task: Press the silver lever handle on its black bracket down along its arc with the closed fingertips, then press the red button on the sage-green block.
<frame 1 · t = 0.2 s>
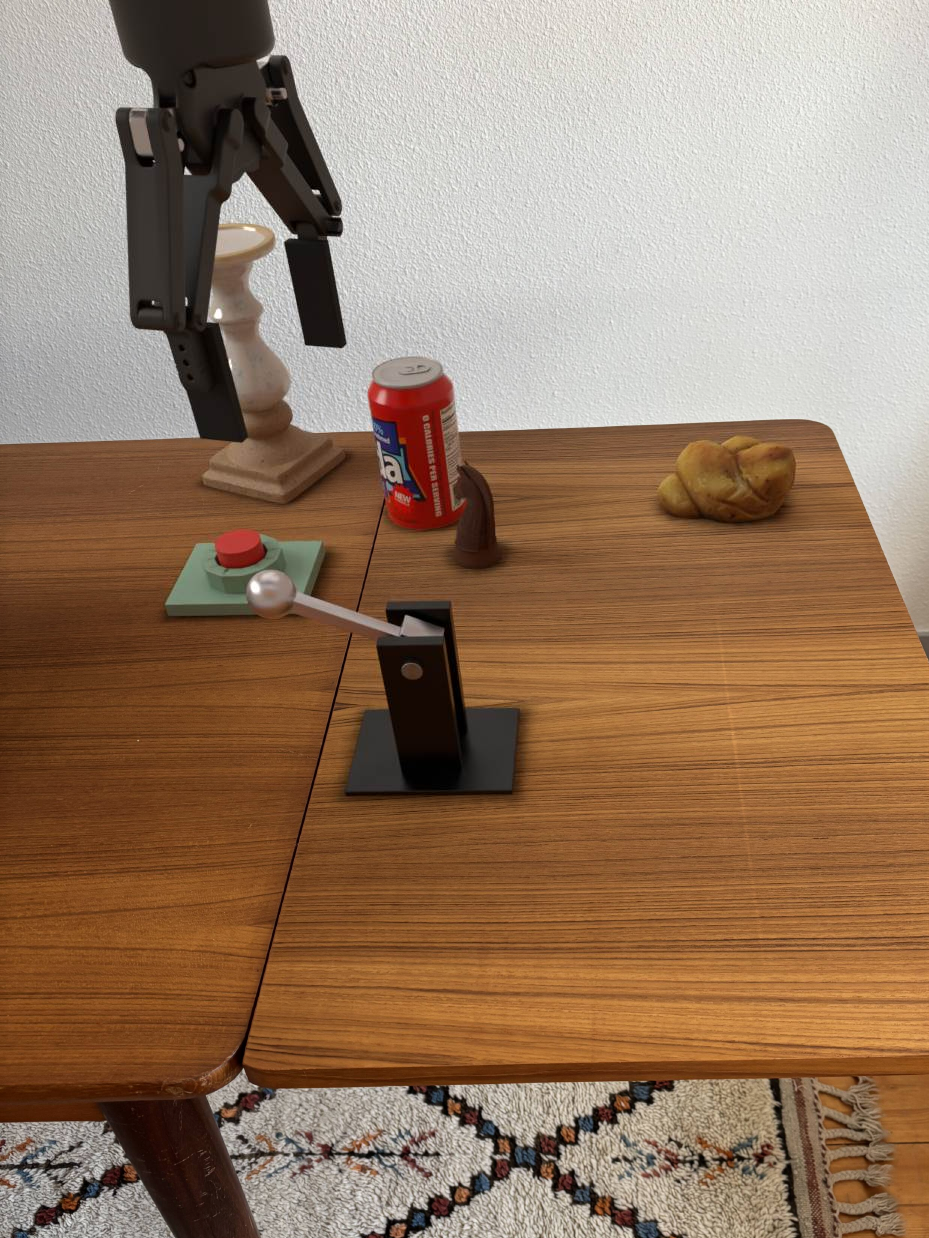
hand: (279, 388, 65), 26 cm above the table, tool pointing down, fingers open, 13 cm apart
candle holder: (277, 479, 112), on the table
lever stand: (437, 761, 79), on the table
chess piece: (480, 566, 98), on the table
button block: (252, 591, 96), on the table
button: (240, 549, 93), point 4 cm above the table, slide at 0.1 cm
silver lever handle: (344, 619, 70), point 13 cm above the table, hinge at 25.0°
bread roll: (721, 509, 104), on the table
soda can: (428, 518, 105), on the table
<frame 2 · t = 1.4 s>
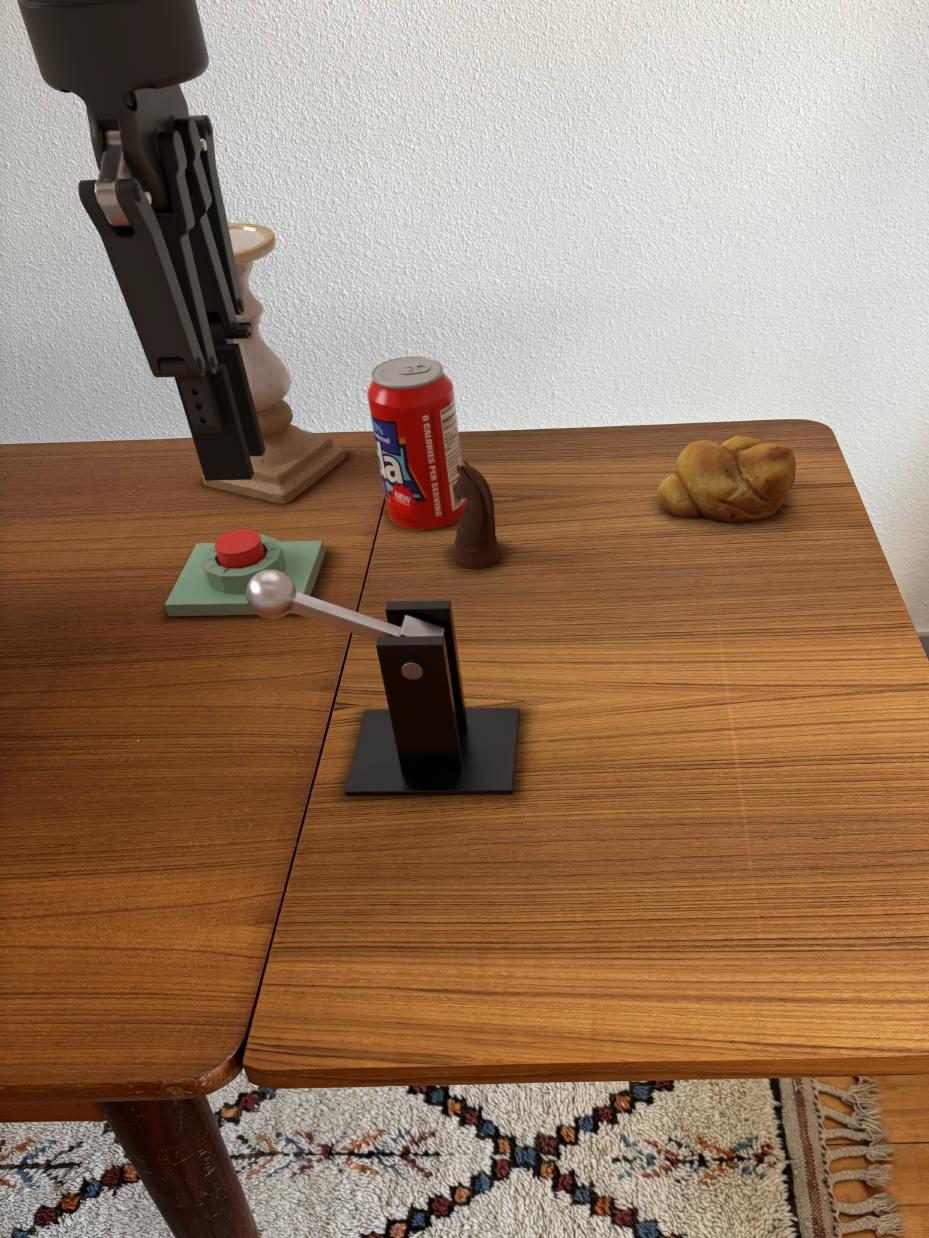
hand: (235, 464, 62), 24 cm above the table, tool pointing down, fingers open, 2 cm apart
nothing on the table moved.
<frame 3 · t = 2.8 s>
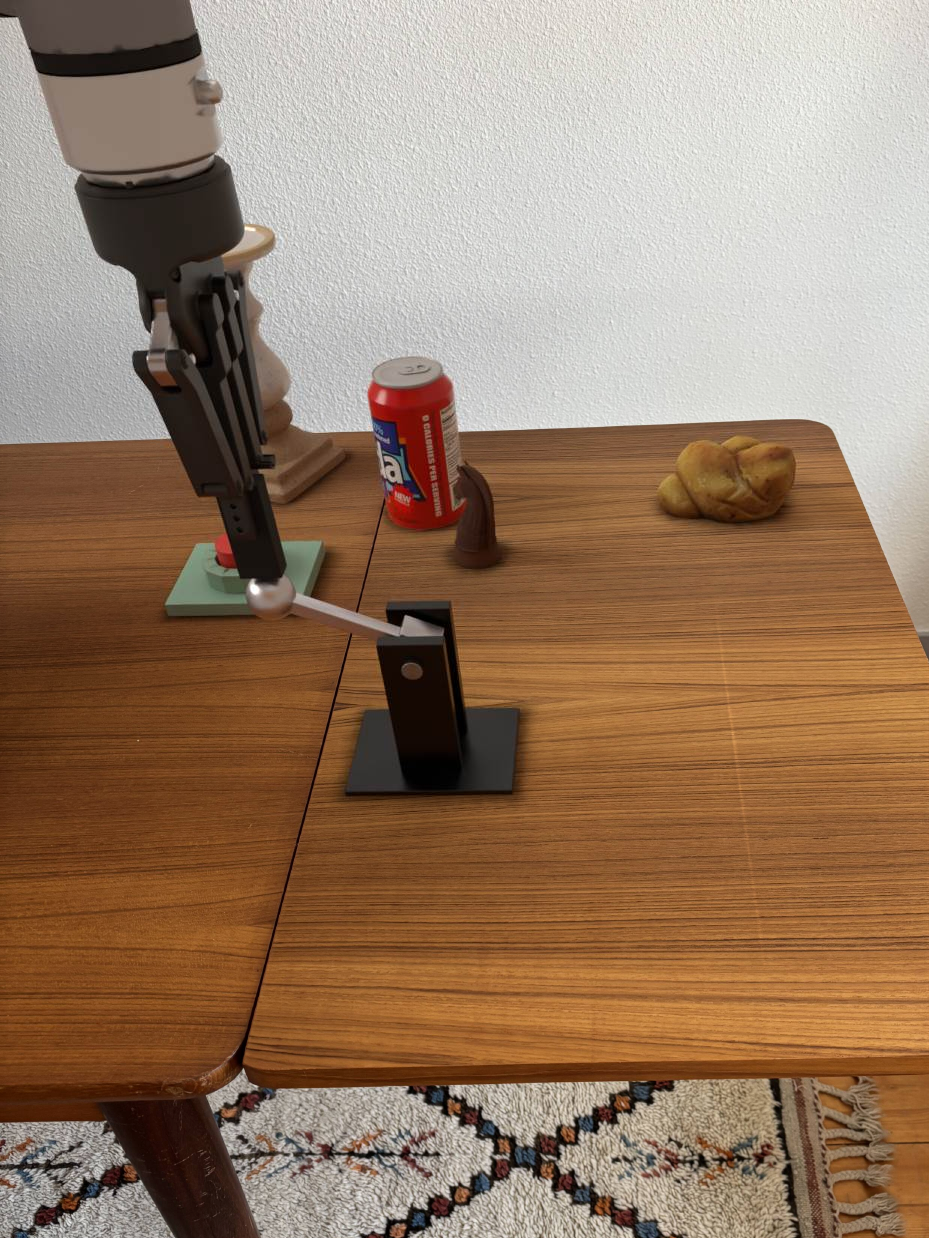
hand: (263, 571, 67), 17 cm above the table, tool pointing down, fingers closed
silver lever handle: (344, 619, 70), point 13 cm above the table, hinge at 24.3°, touching gripper
everything else where it was.
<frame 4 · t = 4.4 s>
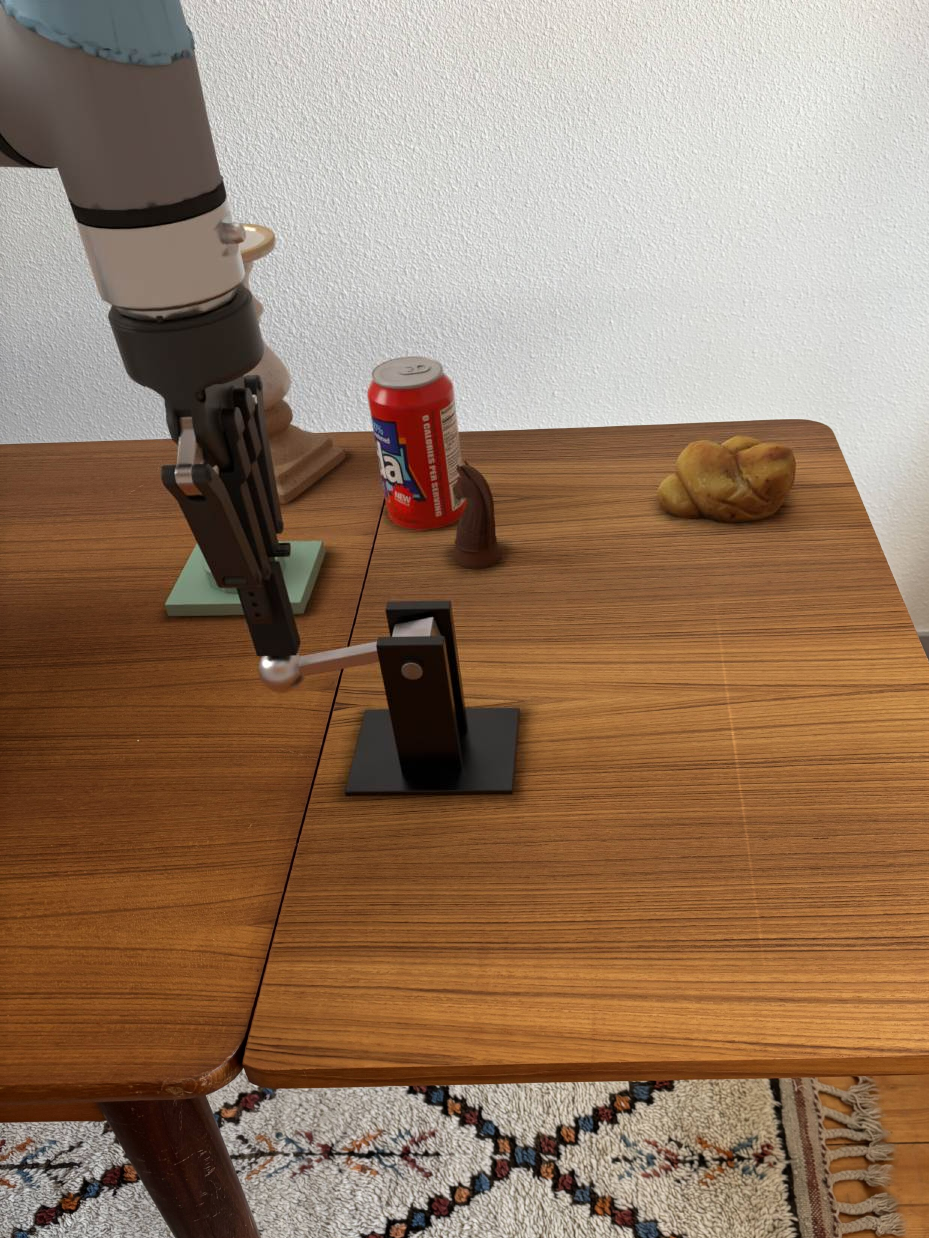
hand: (279, 648, 72), 11 cm above the table, tool pointing down, fingers closed
silver lever handle: (347, 657, 72), point 10 cm above the table, hinge at -12.0°, touching gripper
everything else where it was.
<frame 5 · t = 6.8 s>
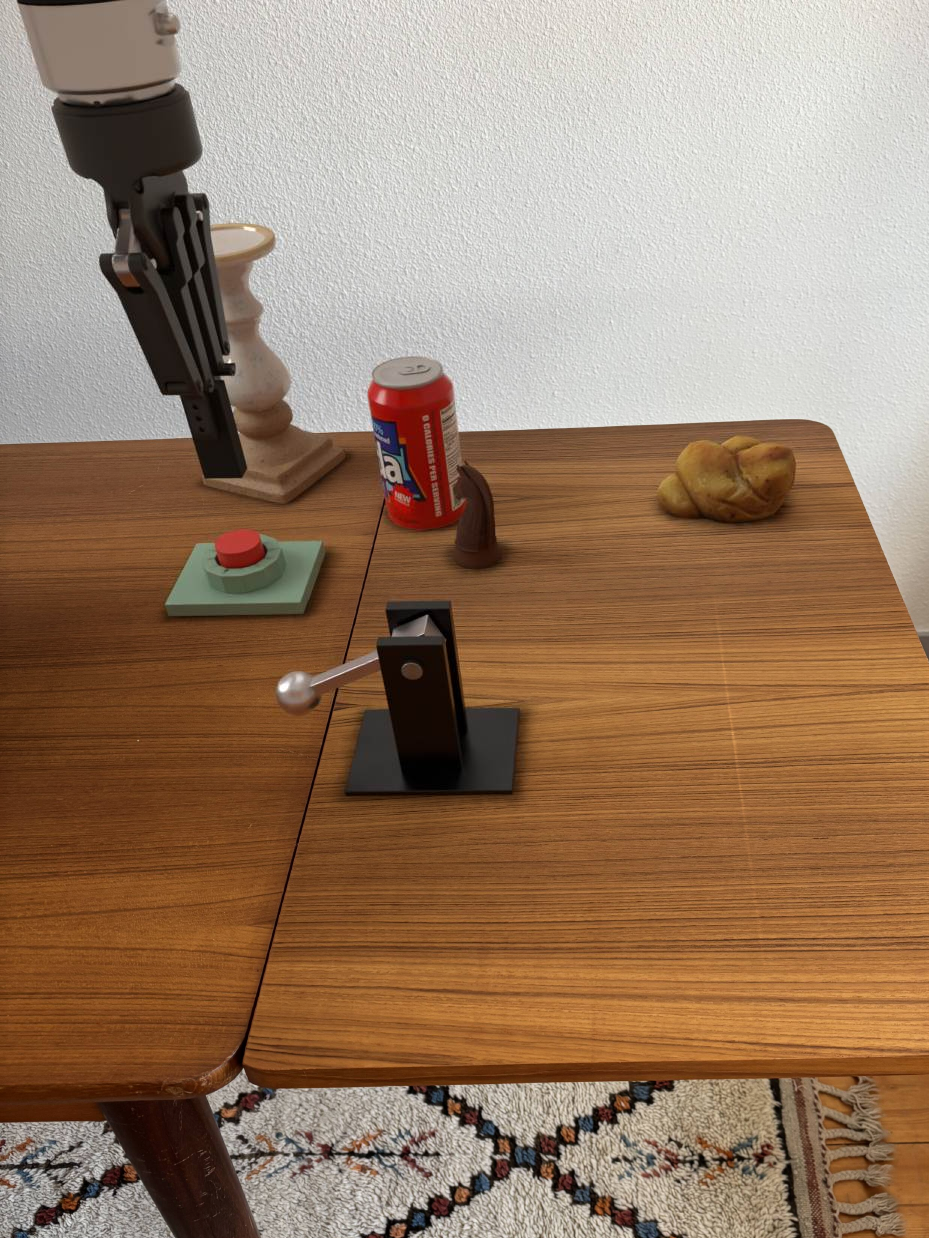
hand: (226, 472, 75), 18 cm above the table, tool pointing down, fingers closed
silver lever handle: (355, 669, 73), point 9 cm above the table, hinge at -24.9°
everything else where it was.
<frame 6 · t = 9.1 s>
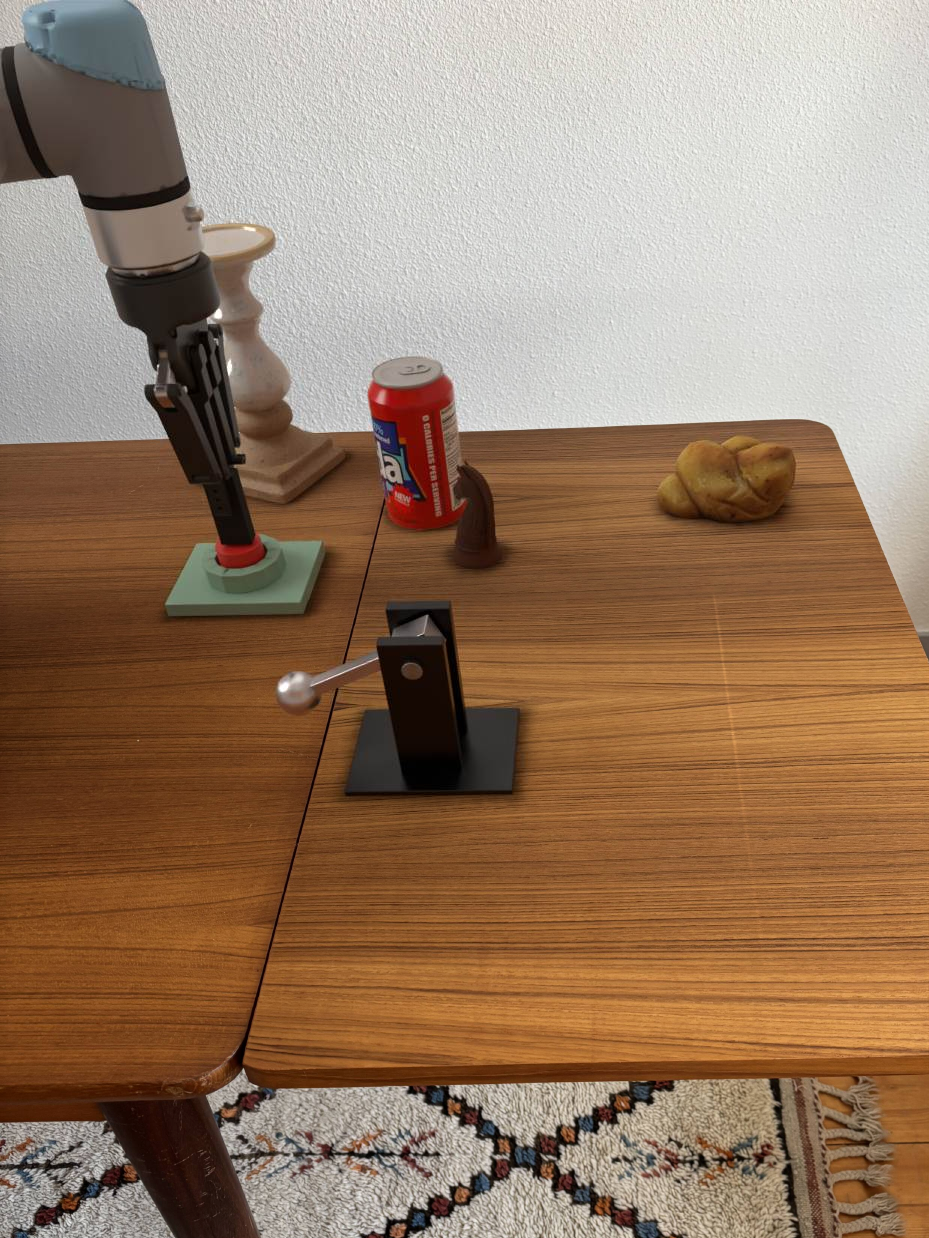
hand: (238, 539, 92), 5 cm above the table, tool pointing down, fingers closed
button: (240, 550, 93), point 4 cm above the table, slide at 0.0 cm, touching gripper
everything else where it was.
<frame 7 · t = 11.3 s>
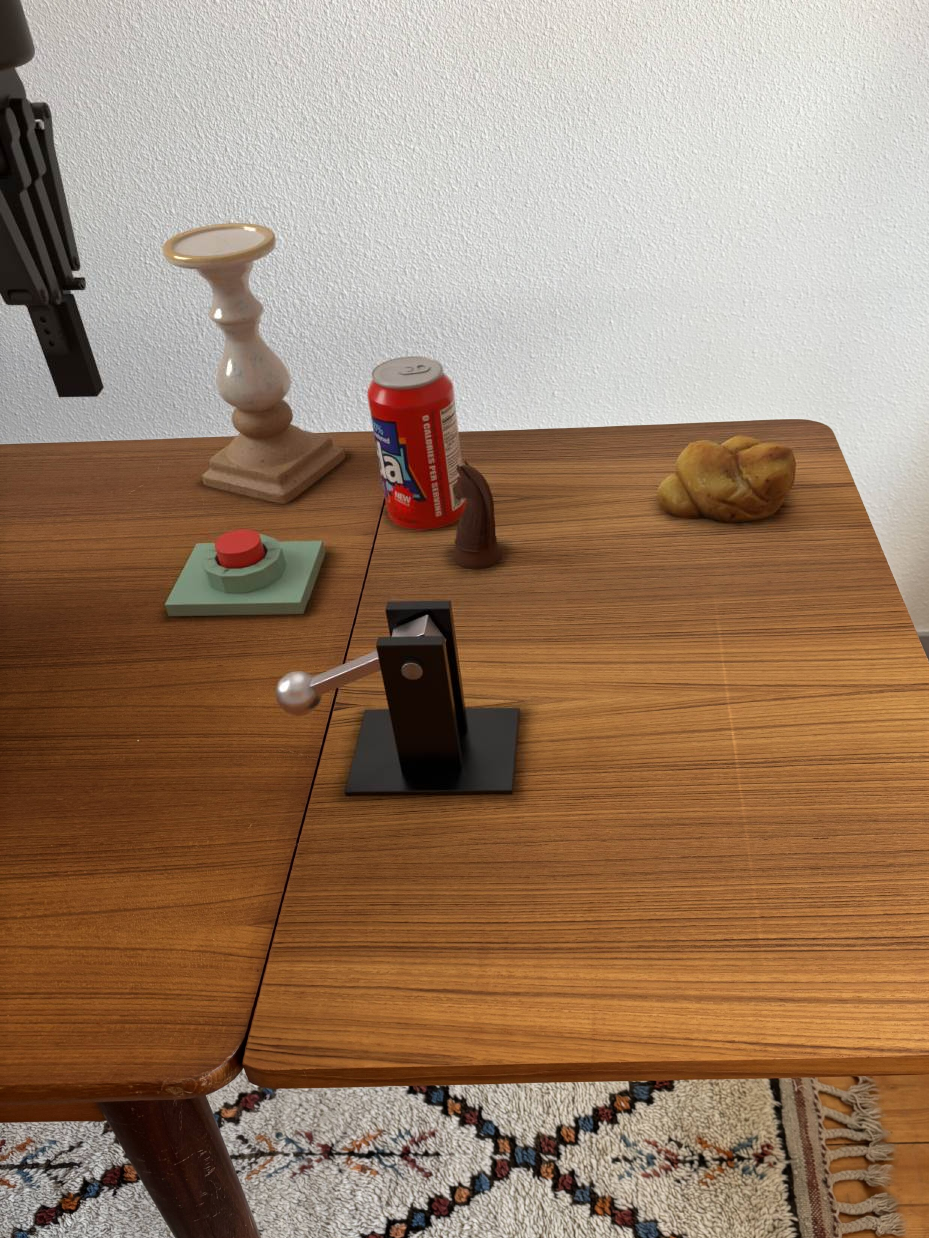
hand: (81, 391, 74), 23 cm above the table, tool pointing down, fingers closed
button: (240, 549, 93), point 4 cm above the table, slide at 0.1 cm
everything else where it was.
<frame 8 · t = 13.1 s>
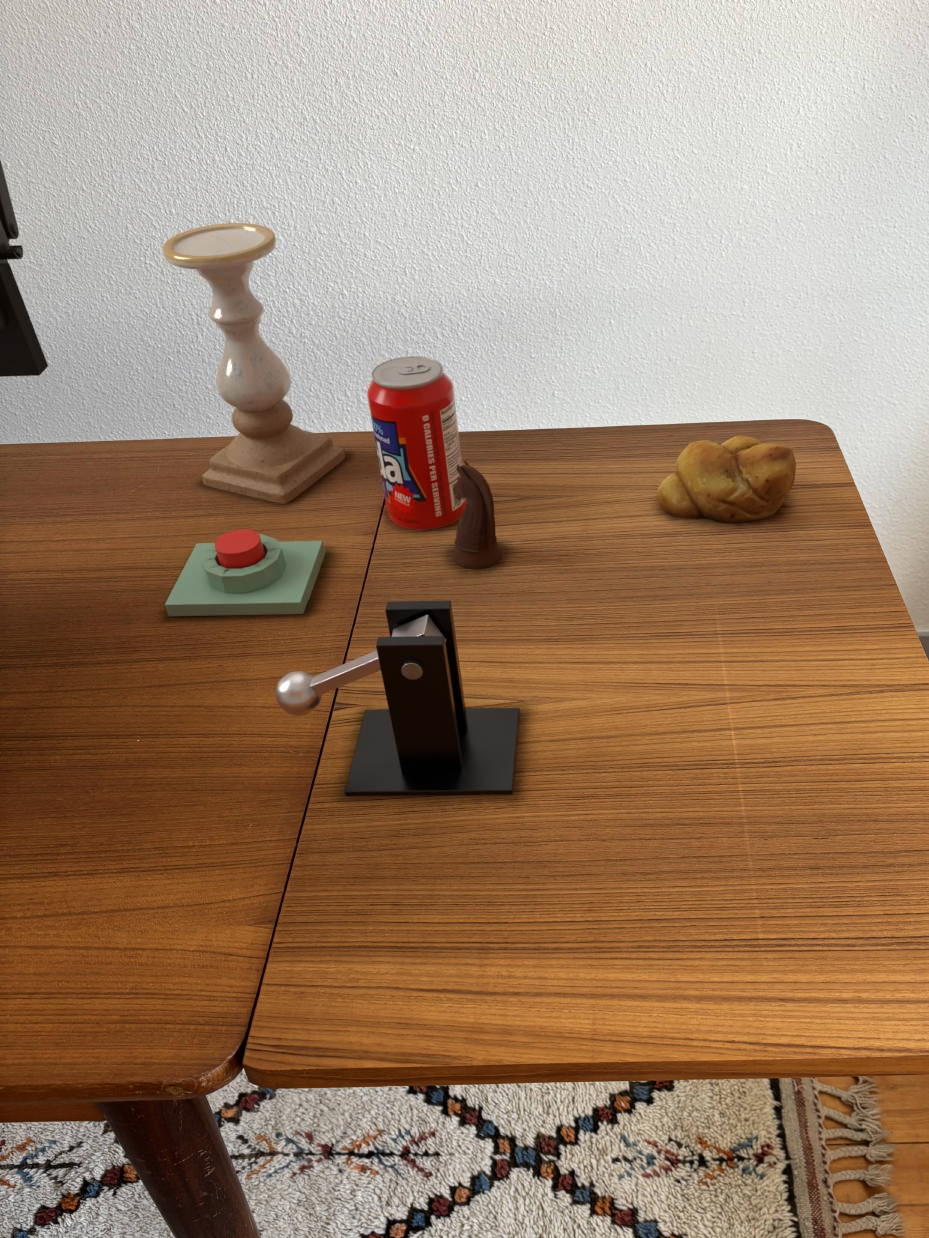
hand: (23, 370, 69), 26 cm above the table, tool pointing down, fingers closed
nothing on the table moved.
at the end: silver lever handle at -25° (first picture: +25°); button pushed in 1.0 cm at the most during the clip, back to where it started at the end; button slide at 0.1 cm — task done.
